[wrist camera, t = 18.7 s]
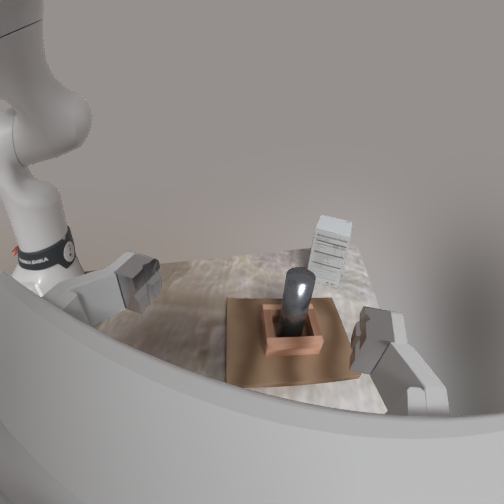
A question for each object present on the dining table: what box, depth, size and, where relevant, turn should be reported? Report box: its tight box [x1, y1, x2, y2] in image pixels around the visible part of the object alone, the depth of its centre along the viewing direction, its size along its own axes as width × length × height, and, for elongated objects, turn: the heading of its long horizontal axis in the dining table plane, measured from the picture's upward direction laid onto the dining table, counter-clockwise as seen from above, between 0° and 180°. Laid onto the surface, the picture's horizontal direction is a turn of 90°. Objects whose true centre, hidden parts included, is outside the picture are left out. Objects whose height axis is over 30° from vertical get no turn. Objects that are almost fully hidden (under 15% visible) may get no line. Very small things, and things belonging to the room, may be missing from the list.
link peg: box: [277, 267, 316, 337], centre depth 40 cm, size 4×4×12 cm
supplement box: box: [307, 215, 353, 288], centre depth 56 cm, size 7×7×13 cm
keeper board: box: [226, 298, 361, 388], centre depth 42 cm, size 20×18×4 cm
